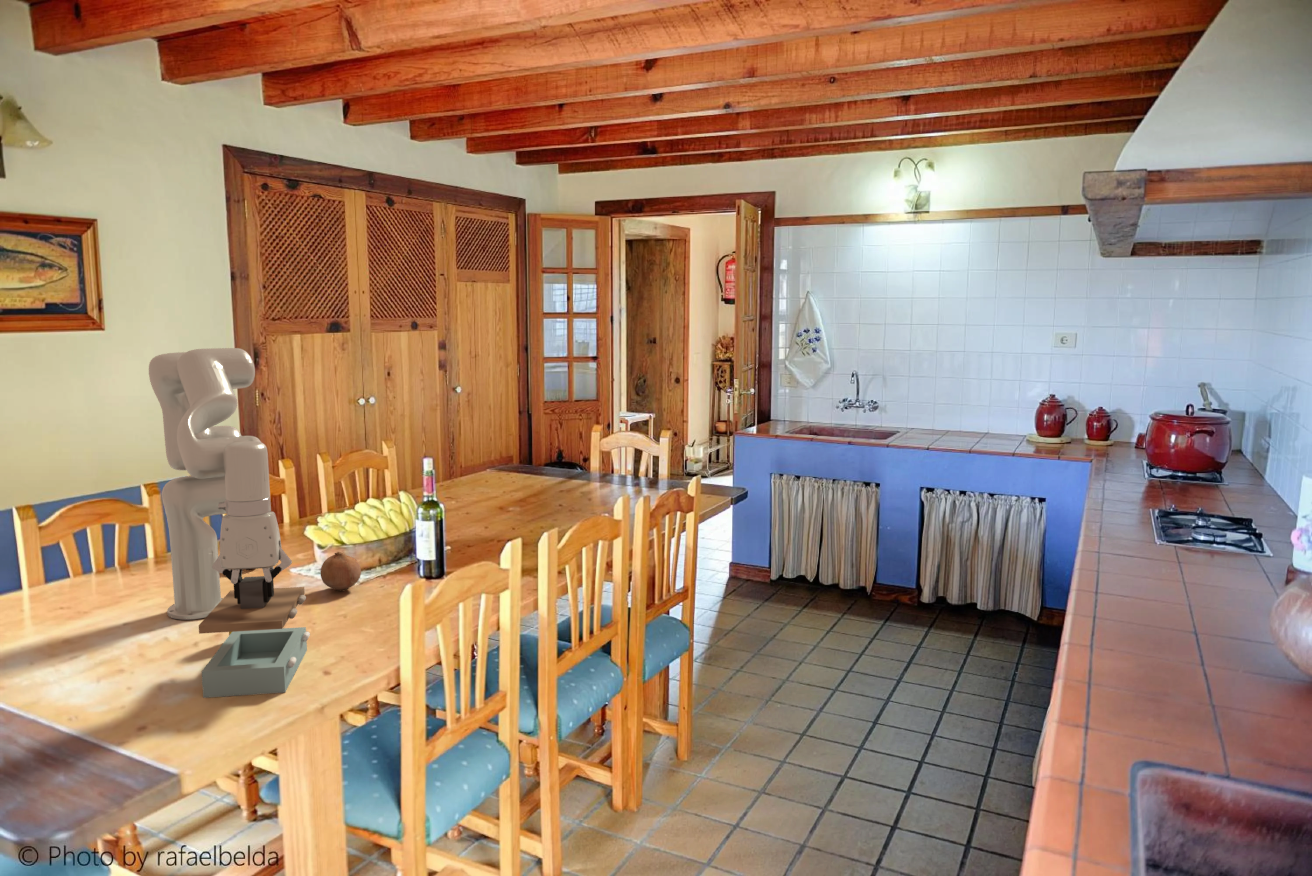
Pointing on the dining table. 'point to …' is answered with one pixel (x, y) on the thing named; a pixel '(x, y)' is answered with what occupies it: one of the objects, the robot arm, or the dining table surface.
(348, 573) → the onion
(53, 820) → the dining table surface
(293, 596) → the door
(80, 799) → the dining table surface
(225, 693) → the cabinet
